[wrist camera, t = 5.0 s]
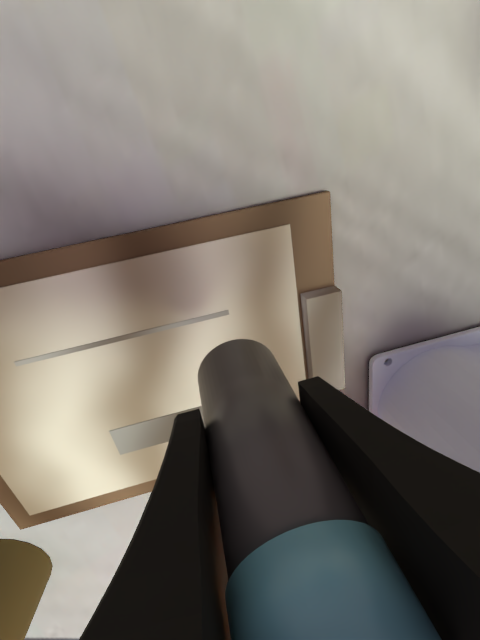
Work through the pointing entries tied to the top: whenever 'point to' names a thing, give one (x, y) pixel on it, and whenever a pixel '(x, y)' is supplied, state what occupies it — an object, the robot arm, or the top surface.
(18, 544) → the cork
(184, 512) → the robot arm
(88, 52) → the top surface
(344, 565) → the marker
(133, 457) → the clipboard
